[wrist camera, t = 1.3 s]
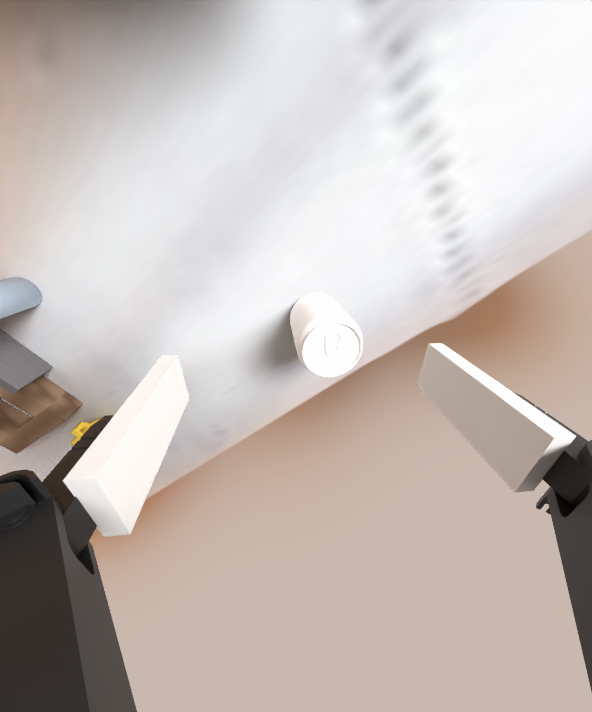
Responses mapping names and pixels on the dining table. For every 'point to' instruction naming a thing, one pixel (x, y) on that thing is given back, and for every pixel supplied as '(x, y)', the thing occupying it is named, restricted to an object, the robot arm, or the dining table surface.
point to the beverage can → (325, 335)
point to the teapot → (81, 430)
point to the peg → (17, 296)
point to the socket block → (33, 412)
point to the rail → (18, 364)
